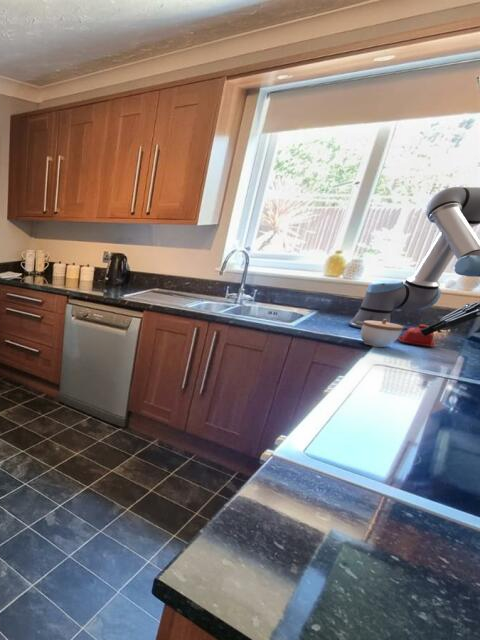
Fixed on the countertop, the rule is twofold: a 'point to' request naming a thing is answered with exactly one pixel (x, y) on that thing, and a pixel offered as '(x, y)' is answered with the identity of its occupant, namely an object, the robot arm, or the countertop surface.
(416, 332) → the butter dish
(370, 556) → the countertop surface
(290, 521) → the countertop surface
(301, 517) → the countertop surface
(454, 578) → the countertop surface
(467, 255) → the robot arm
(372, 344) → the lidded bowl
